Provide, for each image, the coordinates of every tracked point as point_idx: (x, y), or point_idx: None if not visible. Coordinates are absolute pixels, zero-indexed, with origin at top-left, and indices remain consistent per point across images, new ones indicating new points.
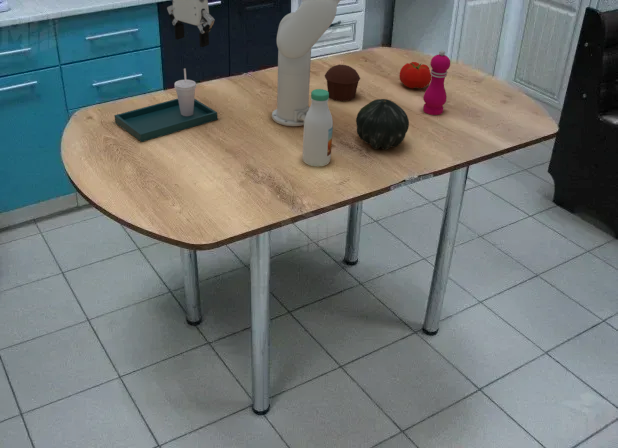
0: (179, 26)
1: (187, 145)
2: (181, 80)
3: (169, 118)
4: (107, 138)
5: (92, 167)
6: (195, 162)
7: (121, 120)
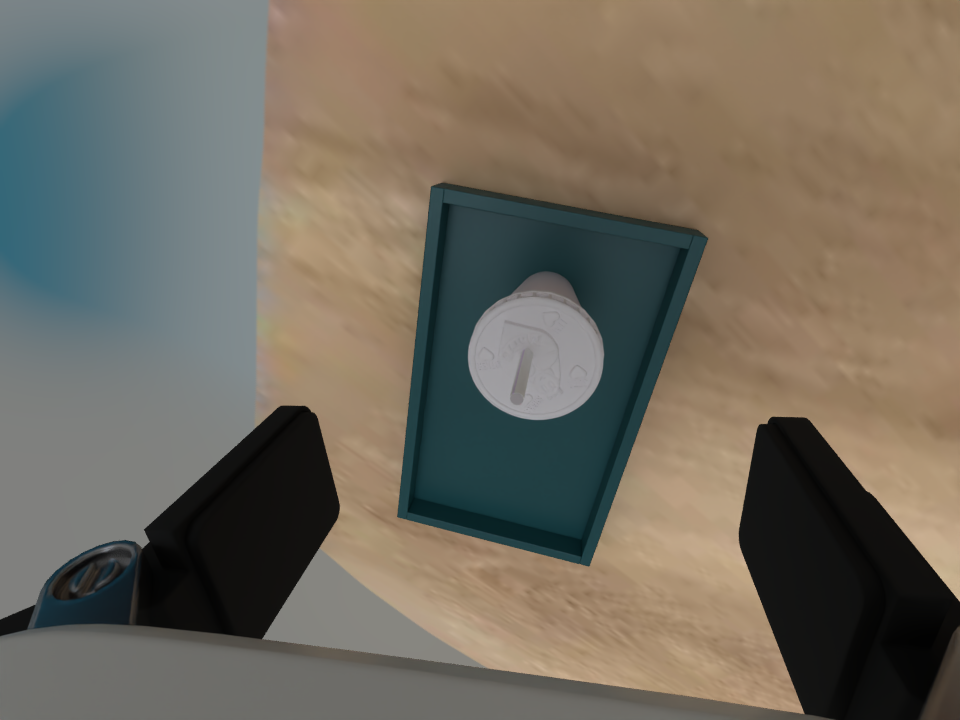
0: (233, 599)
1: (747, 481)
2: (478, 341)
3: None
4: (486, 573)
5: None
6: None
7: (449, 530)
